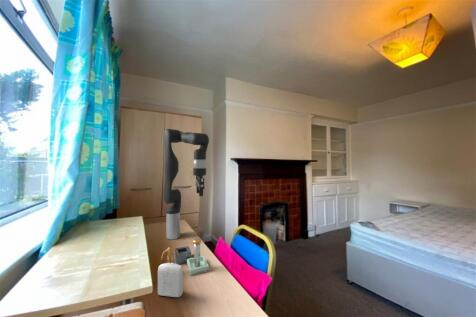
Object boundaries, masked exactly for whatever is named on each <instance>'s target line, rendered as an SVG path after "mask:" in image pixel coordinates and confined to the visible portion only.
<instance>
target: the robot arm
mask: <svg viewBox="0 0 476 317" xmlns="http://www.w3.org/2000/svg"><path fill="white" fill-rule="evenodd" d="M209 142H210V139H209V136H208V134H207V133H200V132H192V131H191V132H184V131H181V130H179V129H175V128H174V129H172V128H166V129H165V130H164V132H163V143H164V145H163V146H164V185H163V194H162V197H163V202H164V203H165V204H166V205H169V204H171V205H170V206H168V207H167V208H166V210H165V213H166V214H165V215H166V216H165V219H166V222H165V223H166V224H165V225H166V227H165V228H166V229H165V230H166V239H167V240H177V239H178V238H180V237H181V207H182V193H181V190H180V189H178V188H174V189H172V187H173V183H174V181H175V179H176V177H177V176H178V173H179V165H180V164H179V163H180V162H179V159H178V157H177V156H176V154H175V153H174V150H173V148H172V144H177V143H185V144H189V145H190V144H191V145H193V146H199V148H197V149H195V150H193V161H192V163H193V164H192V165H193V168H192V173H193V176H195V187H196V189H195V190H196V191H195V192H196V194H198V196H199V197H203V196H204V189H205V177H203V176H207V151H208V146H209Z"/></svg>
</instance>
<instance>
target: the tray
mask: <svg viewBox="0 0 476 317" xmlns="http://www.w3.org/2000/svg"><path fill="white" fill-rule="evenodd" d="M186 265H187V268H188V272H189V275H190V276H193V275H197V274H198V275H199V274H201V273H205V272H209V271H210V264H209V263H208V261H207V259H206V257H205V255H200V267H197V268H196V267H194V257H191V258H189V259H187V262H186Z"/></svg>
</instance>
